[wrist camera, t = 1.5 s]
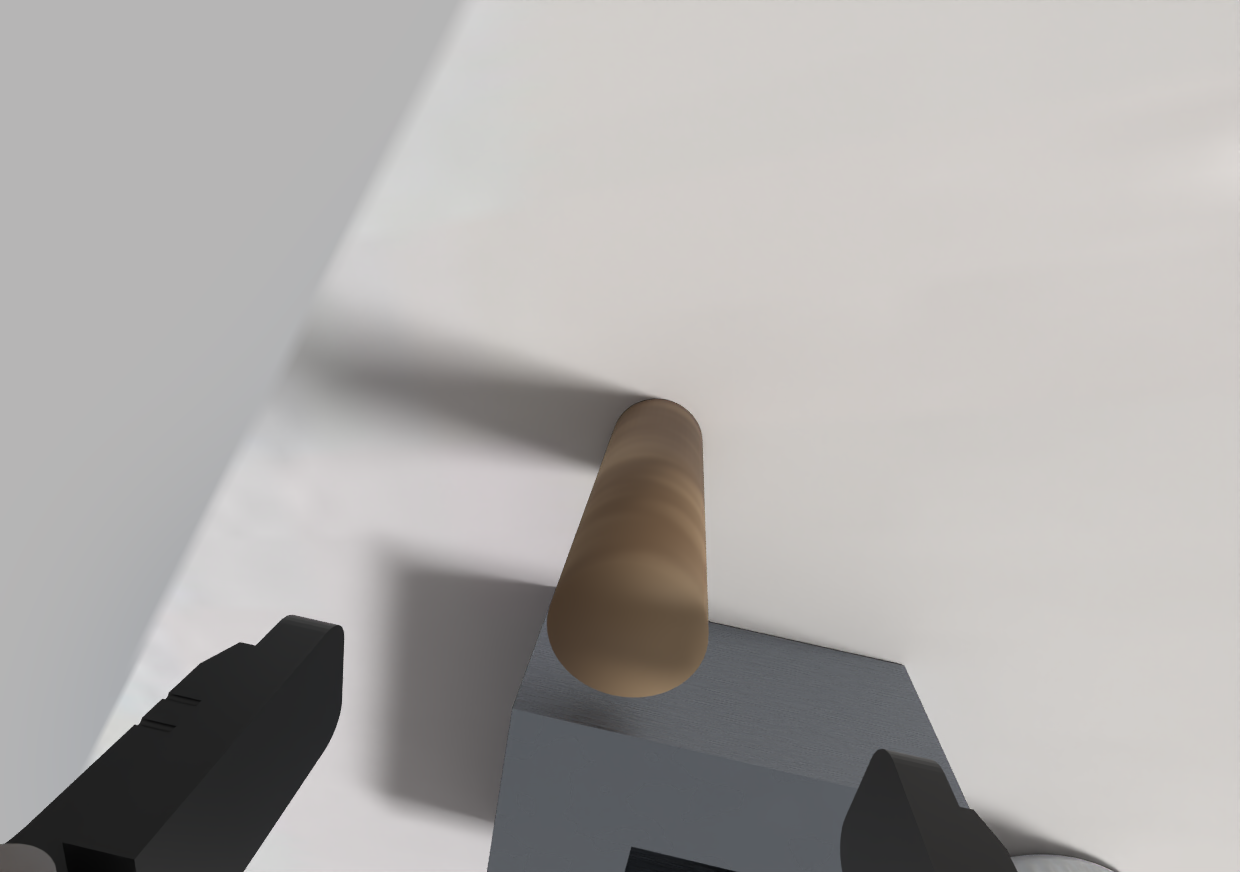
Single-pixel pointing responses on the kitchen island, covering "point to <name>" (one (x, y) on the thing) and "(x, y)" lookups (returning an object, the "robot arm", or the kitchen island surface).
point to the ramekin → (1055, 864)
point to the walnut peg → (638, 561)
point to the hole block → (701, 761)
